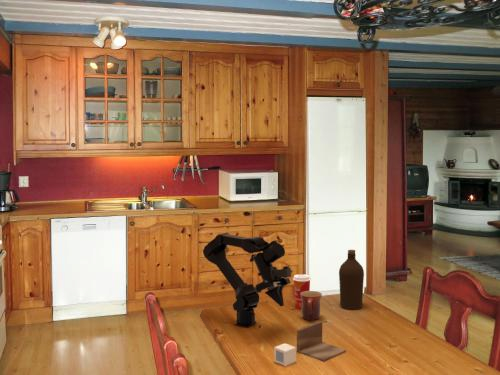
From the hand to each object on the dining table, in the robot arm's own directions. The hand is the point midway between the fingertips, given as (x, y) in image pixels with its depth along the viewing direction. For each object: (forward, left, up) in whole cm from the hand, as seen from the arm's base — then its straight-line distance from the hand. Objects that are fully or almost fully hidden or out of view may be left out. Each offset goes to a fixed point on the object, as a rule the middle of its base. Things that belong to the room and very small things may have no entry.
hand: (282, 305), depth 201 cm
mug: (+1, +22, -12) cm, 25 cm away
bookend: (+19, -6, -12) cm, 23 cm away
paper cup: (-9, +34, -12) cm, 37 cm away
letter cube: (+12, -19, -12) cm, 26 cm away
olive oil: (+9, +46, -12) cm, 49 cm away
